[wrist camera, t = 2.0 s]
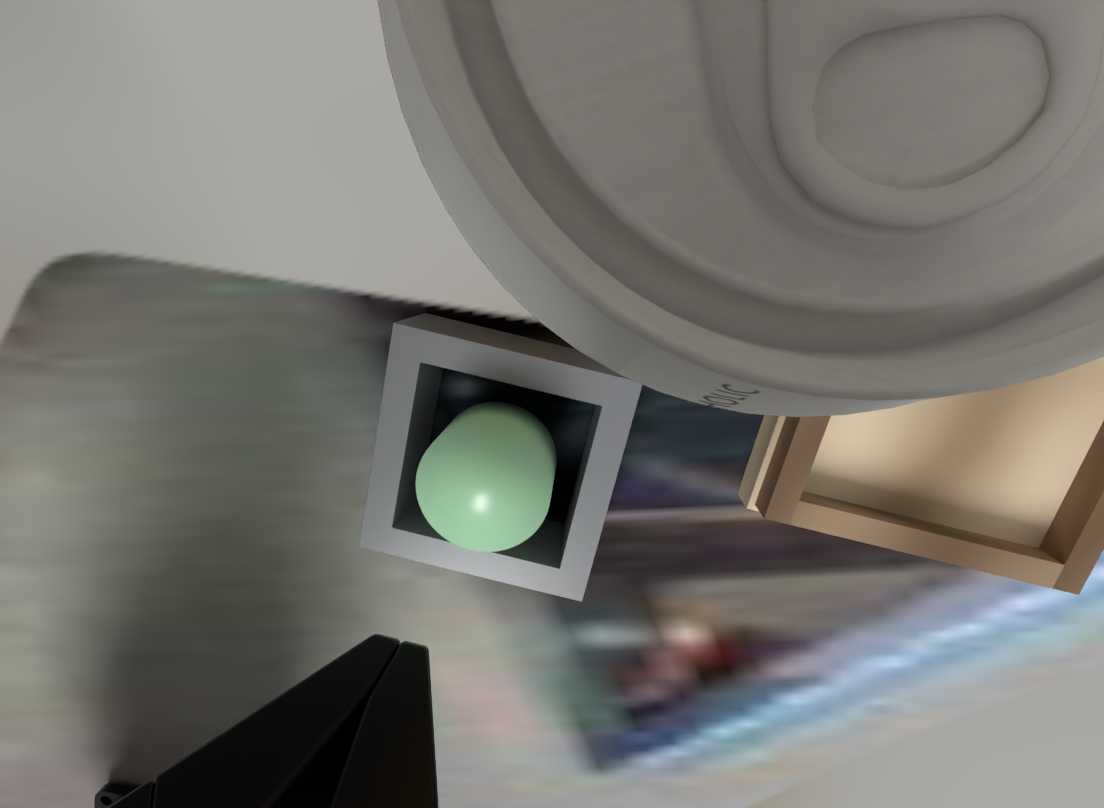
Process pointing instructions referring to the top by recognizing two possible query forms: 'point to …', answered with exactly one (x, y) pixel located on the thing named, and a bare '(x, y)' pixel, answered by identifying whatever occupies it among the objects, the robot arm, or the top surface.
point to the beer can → (776, 186)
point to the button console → (405, 430)
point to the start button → (488, 477)
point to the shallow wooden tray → (951, 477)
